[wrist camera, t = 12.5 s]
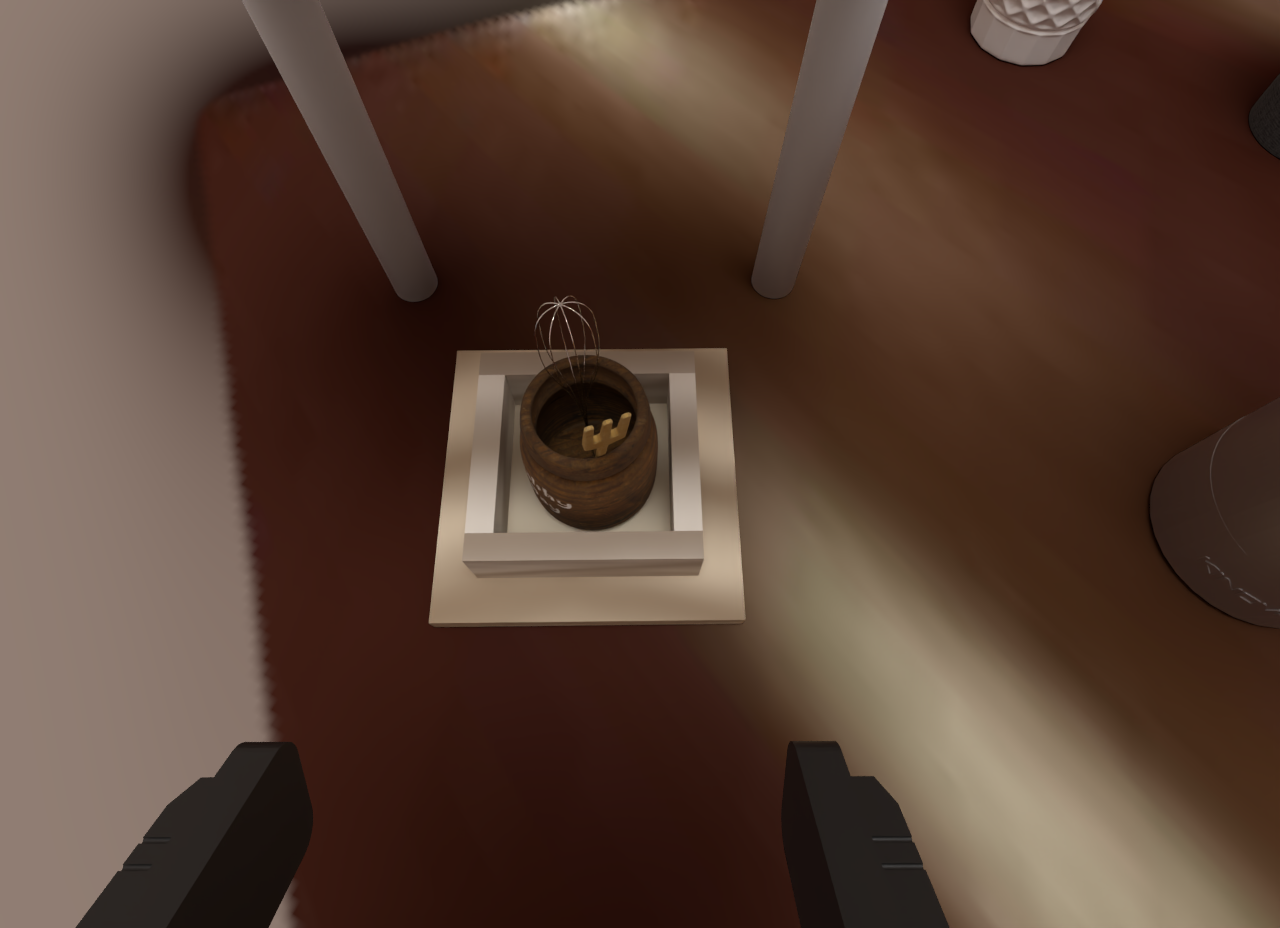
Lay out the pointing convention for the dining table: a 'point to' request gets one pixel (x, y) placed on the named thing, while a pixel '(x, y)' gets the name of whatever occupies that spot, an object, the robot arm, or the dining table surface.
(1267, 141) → the coffee cup
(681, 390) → the socket block
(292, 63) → the white bench
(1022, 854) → the dining table surface
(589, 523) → the utensil holder
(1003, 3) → the white cup
